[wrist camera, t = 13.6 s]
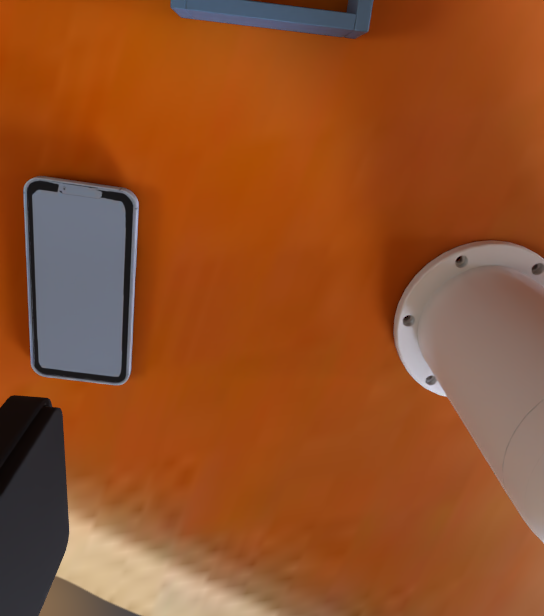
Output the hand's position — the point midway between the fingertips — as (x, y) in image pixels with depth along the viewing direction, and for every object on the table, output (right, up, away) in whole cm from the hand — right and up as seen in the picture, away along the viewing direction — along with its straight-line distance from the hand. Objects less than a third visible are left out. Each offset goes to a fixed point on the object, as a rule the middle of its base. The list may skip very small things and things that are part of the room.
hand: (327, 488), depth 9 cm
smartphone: (-14, +5, +28) cm, 32 cm away
